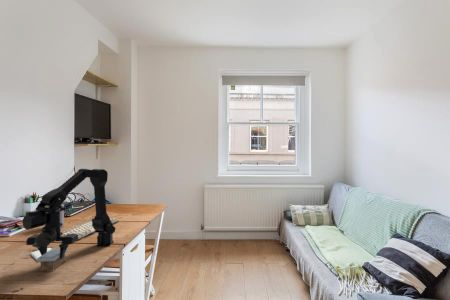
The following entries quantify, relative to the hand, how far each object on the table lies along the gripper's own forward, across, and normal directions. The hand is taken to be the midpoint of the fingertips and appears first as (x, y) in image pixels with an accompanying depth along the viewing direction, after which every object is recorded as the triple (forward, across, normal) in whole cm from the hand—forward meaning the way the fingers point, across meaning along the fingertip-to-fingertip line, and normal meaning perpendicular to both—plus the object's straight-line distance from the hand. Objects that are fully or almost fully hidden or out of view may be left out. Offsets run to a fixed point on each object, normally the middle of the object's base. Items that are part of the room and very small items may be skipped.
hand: (53, 259), depth 114 cm
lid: (-1, 0, 0) cm, 1 cm away
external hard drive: (+4, -11, +12) cm, 17 cm away
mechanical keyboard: (+4, -8, +50) cm, 51 cm away
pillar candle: (+4, -31, +55) cm, 63 cm away
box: (+3, 0, 0) cm, 3 cm away
